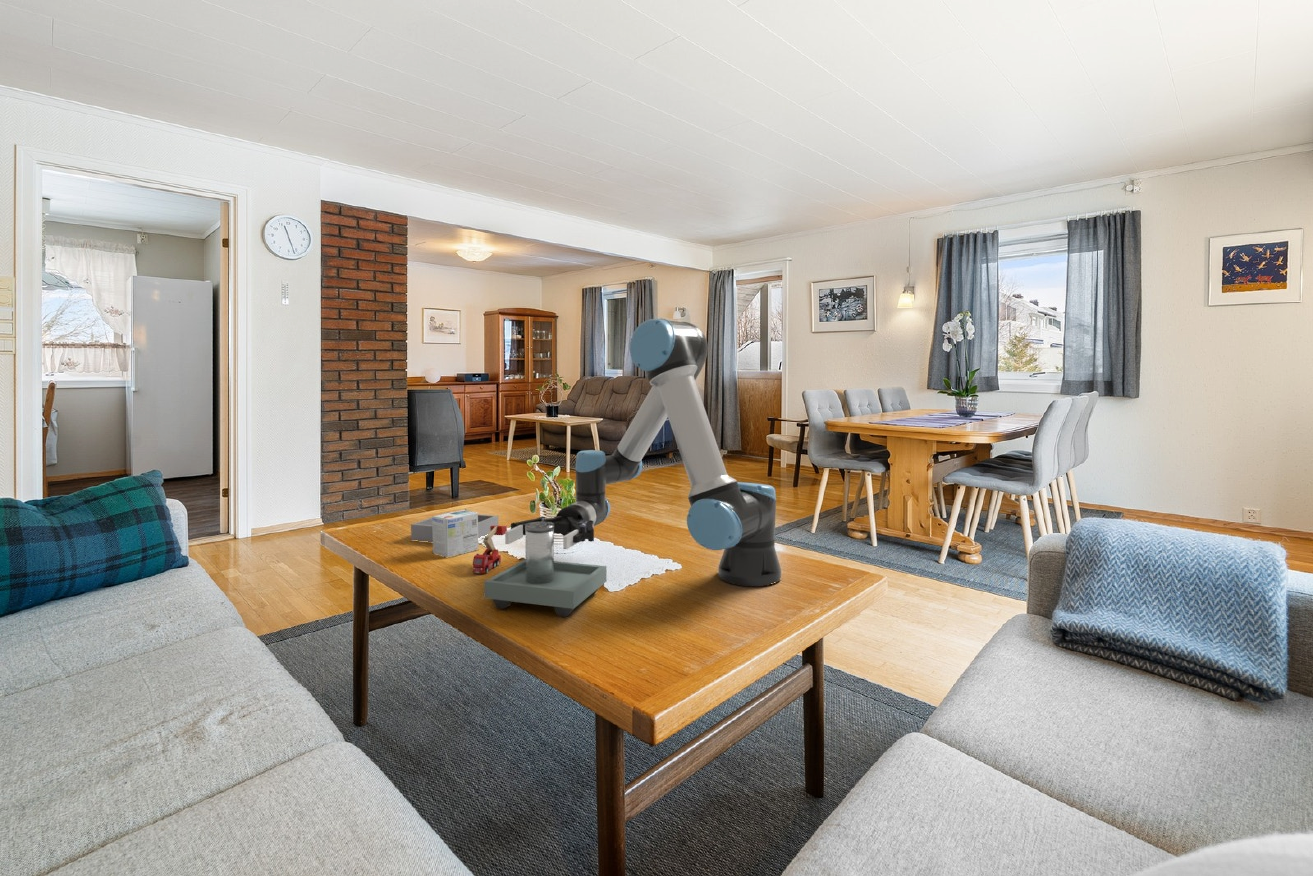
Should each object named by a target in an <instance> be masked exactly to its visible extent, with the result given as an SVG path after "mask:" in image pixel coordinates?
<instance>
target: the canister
mask: <svg viewBox="0 0 1313 876" xmlns="http://www.w3.org/2000/svg"><path fill="white" fill-rule="evenodd" d="M525 531H526V535H525V559H526V581H527V582H529V583H534V584H542V583H548V582H551V581H553V580H554V561H555V559H554V558H555V552H554V550H555V546H554V545H555V543H554V542H555V533H554V523H551V522H531V523H527V524H525Z"/></svg>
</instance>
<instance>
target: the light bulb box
mask: <svg viewBox="0 0 1313 876" xmlns="http://www.w3.org/2000/svg"><path fill="white" fill-rule="evenodd" d="M450 512H451V513H446V512H445V513H446V514H443V513H441V515H440V514H438V515H432V516H431V517H432V531H433V543H432V550H433V552H432V553H434V554H438V555H442V556H445V557H450V556H453V557H455V556H454V555H457V556H459V555H458V554H461V555H465V554H468V553H467V552H469V553H472V552H475V551H474V550H476V551H478V550H477V549H479V541H478V514H479V512H477V511H472V510H467V509H466V510H464V509H459V510H457V511H456V510H455V511H450ZM471 551H472V552H471ZM464 553H465V554H464ZM434 554H433V555H434ZM450 558H451V557H450Z"/></svg>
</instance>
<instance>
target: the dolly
mask: <svg viewBox="0 0 1313 876" xmlns="http://www.w3.org/2000/svg"><path fill="white" fill-rule="evenodd" d="M483 582H484V586H483V587H484V589H483V590H484V591H483V592H484V599H487V600H488V599H489V600H492V602H493V605H494V607H495V608H497V609H499V610H505V609H506V608H508V607H510V606H511V604H512V602H514V603H521V604H522V603H523V604H530V605H531V604H532V605H537V606H538V605H539V606H547V607H553V608H554V611H555V614H556V615H557V616H559V617H560V618H566V617H568V616H570V615H571V613H573V611H574V609H575V608H576V607H578V606H579V605H580V604H581V603H583V601H585V600H586V599H587V598H588V597H590V596H591V595H594V594H595V593H596V592H598V590H599V589H600V588H601V587H602V586H603V585H605V583H607V565H600V564H599V565H598V564H590V563H589V564H587V563H586V564H585V563H577V562H576V563H575V562H566V561H558V560H554V580H553V581H551V582H548V583H542V584H534V583H529V582H527V581H526V558H525V559H522V560H521V561H519V562H517V563H516V564H514V565H512V566H510V567H508V568H506V569H505V570H503V571H501V572H499V573H497V574H496V575H494V576H492V577H490V578H488V579H486V580H484V581H483Z"/></svg>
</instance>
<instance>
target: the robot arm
mask: <svg viewBox="0 0 1313 876" xmlns="http://www.w3.org/2000/svg"><path fill="white" fill-rule="evenodd" d="M633 331H634V332H633V334H632V337H631V338H630V342H629V355H630V358H631V360H632V362H633V364H634V365H635V366H636V367H637V368H639V369H640V370H642V371H644V372H645V373H646V377H647V380H648V382H649V385H650V386H651V388H650V390H649V392H648V393H647V395H646V397H645V399H644V400H643V402H642V404H641V405H640V407H639V408H638V410H637V413H636V414H635V415H634V417H633V419H632V421H631V423H630V425H629V426H628V428H627V430H626V431H625V433H624V434H623V436H622V438H621V440H620V442H619V444H617V446H616V448H615V450H614V451H613V453H612V454H609V455H606V452H604V450H597V449H595V450H594V449H588V450H580V451H578V452H577V453H576V458H575V467H574V469H575V502H573V503H571V504H569V505H567V506H565V507H562V508H561V509H560V510H559V511H558V512H557V514H556V516H554V517H551V518H550V517H549V518H545V516H539V517H537V518H532V519H528V520H521V521H516V522H511V523H510V529H507V531H506V532H505V534H504V536H505V537H504V538H505V539H504V540H505V545H510V544H512V543H514V542H516V541H518V540H521V539H522V538H523V537H524V536H526V531H525V524H527V523H531V522H551V523H554V534H558V535H559V534H561V536H563V539H562V541H563V547H562V548H563V549H562V550H568V549H570V548H571V547H573V546H574V545H577V544H578V543H581V542H582V543H583V542H586V540H588V542H589V543H590V542H595V529H594V527H595V526H597V525H600V524H602V522H604V521H605V520H606V519H607V518H608V516H610V513H611V503H610V501H609V500H608V498H607V497H606V485H612V484H615V483H620V482H627V481H631V480H633V479H636V478H637V477H639V476H640V475H641V473H642V471H643V461H642V459H643V458H644V457H645V454H647V452H648V450H649V448H650V447H651V445H652V444H653V442H654V440H655V438H656V437H657V435H658V434H659V432H660V430H661V429H662V427H663V426H664V424H665V422H666V420H667V419H668V421H669V424H670V427H671V429H672V430H671V431H672V433H673V436H674V438H675V442H676V445H677V447H678V451H679V454H680V457H681V459H682V464H683V466H684V469H685V472H686V474H687V478H688V480H689V484H690V486H691V487H690V488H691V489H690V490H689V493H688V494H687V499H688V501H689V504H690V508H689V509H688V511H687V512H688V514H687V516H686V525H687V529H688V531H689V534H690V536H691V537H692V539H693V540H694V541H695V542H696V543H697V544H698V545H699V546H701V547H703V548H705V549H706V550H711V551H723V552H722V556H721V558H720V561H719V564H718V569H717V570H718V571H717V573H718V574H717V577H718V578H719V579H720V581H721V580H722V581H723V582H726V583H728V584H731V585H736V586H743V587H764V586H763V585H767V586H769V585H768V584H771V583H774V582H778V581H779V580H780V578H781V579H782V567H781V565H780V561H779V558H778V557H779V556H778V554H777V551H776V547H775V546H776V545H775V542H776V541H775V540H776V539H775V536H776V514H777V512H776V511H777V510H776V507H777V500H778V499H777V498H776V497H777V496H776V495H777V494H776V492H777V491H776V489H775V487H774V486H772V485H770V484H763V483H754V482H742V481H738V480H737V479H735V478H734V477H732V476H729V474H728V473H727V472H728V471H727V469H726V466H725V464H724V461H723V458H722V455H721V452H720V449H719V446H718V444H717V441H716V437H715V435H714V431H713V428H712V425H711V424H710V421H709V417H708V414H707V411H706V409H705V406H704V402H703V400H702V397H701V393H700V392H699V391H700V390H699V388H698V386H697V382H696V380H697V378H698V376H699V374H700V373H701V372H702V370H703V367H704V365H705V363H706V360H707V356H708V351H709V349H708V347H709V345H708V341H707V338H706V335H705V333H704V332H703V331H702V329H700V328H699V327H698V326H696V325H695V324H693V323H690V322H686V321H677V320H676V321H675V320H670V319H669V320H668V319H666V318H651V319H647V320H645V321H643V322H641V323H640V324H639V325H638V326H637V328H636V329H635V330H633ZM780 581H781V580H780ZM780 581H779V582H780ZM779 582H778V583H779Z"/></svg>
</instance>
